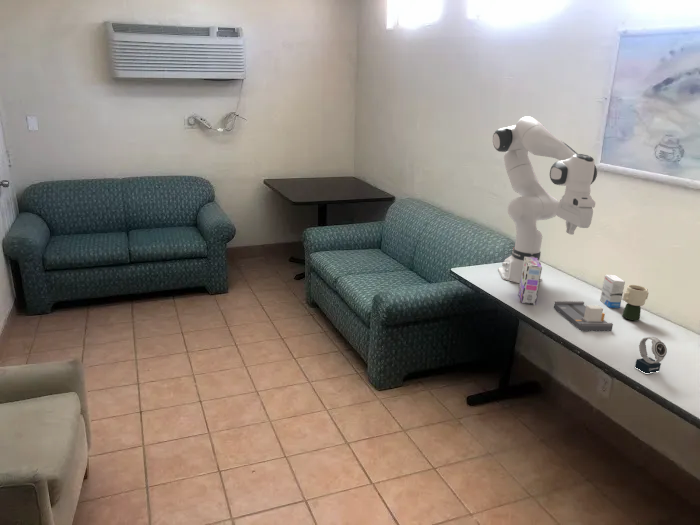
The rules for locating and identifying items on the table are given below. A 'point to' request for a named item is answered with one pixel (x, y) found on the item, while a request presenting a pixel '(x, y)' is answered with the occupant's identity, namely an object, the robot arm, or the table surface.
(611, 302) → the ink box
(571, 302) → the fader console
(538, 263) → the candy box
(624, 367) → the table surface
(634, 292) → the character mug
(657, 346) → the watch
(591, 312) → the fader tab
